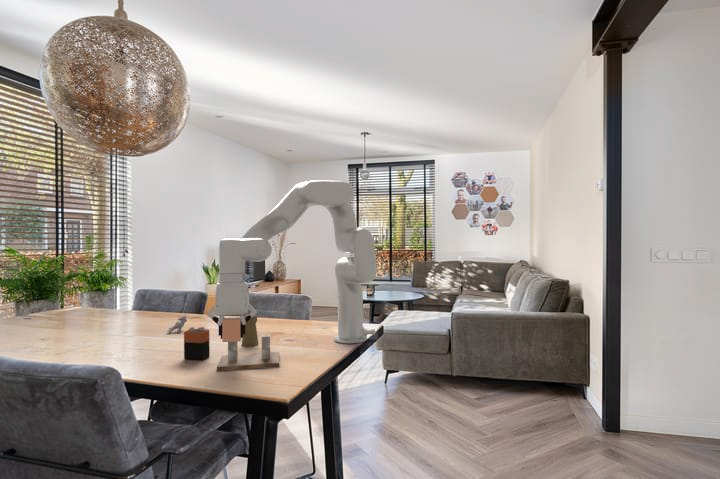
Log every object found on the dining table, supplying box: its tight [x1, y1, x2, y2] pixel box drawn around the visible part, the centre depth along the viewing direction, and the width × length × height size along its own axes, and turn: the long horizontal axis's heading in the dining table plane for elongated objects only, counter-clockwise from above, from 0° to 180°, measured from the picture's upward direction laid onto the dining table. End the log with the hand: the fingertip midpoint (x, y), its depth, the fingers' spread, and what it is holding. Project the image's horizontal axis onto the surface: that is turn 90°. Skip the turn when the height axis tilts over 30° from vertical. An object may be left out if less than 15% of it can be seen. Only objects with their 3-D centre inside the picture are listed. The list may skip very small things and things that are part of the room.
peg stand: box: [216, 334, 280, 372], centre depth 128 cm, size 18×12×8 cm, turn 102°
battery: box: [183, 326, 211, 361], centre depth 134 cm, size 4×7×10 cm, turn 79°
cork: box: [241, 313, 259, 348], centre depth 151 cm, size 6×6×11 cm
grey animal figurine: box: [167, 315, 188, 334], centre depth 173 cm, size 10×6×9 cm
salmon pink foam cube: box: [221, 316, 242, 343], centre depth 127 cm, size 5×5×7 cm
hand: (232, 336), depth 127 cm, fingers closed on salmon pink foam cube, 5 cm apart
